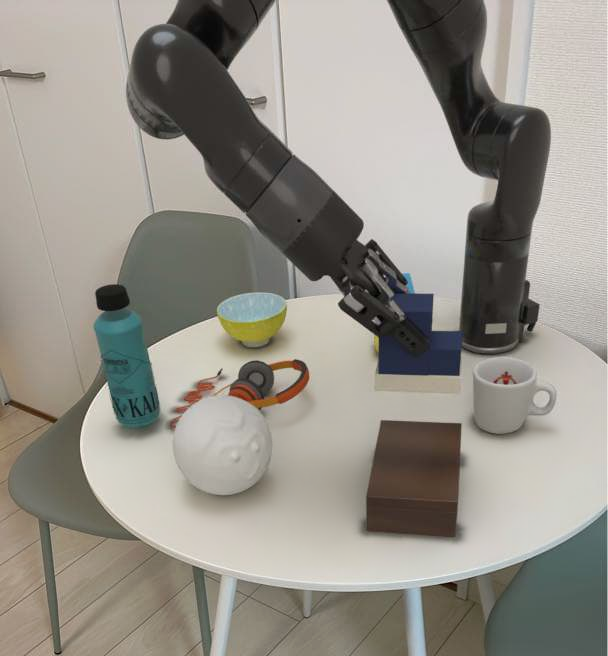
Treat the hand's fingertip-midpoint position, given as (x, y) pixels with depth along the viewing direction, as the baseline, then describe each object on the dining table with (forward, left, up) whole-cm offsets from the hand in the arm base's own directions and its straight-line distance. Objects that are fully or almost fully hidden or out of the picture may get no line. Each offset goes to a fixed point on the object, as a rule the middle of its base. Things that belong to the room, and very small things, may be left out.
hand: (424, 338), depth 78 cm
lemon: (-15, -35, -20) cm, 43 cm away
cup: (-18, -7, -20) cm, 28 cm away
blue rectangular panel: (-23, -42, -20) cm, 52 cm away
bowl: (+2, -49, -20) cm, 53 cm away
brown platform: (0, 0, -20) cm, 20 cm away
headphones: (+11, -31, -20) cm, 38 cm away
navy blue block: (0, 0, -5) cm, 5 cm away
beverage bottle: (+26, -33, -20) cm, 46 cm away
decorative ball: (+20, -13, -20) cm, 31 cm away
